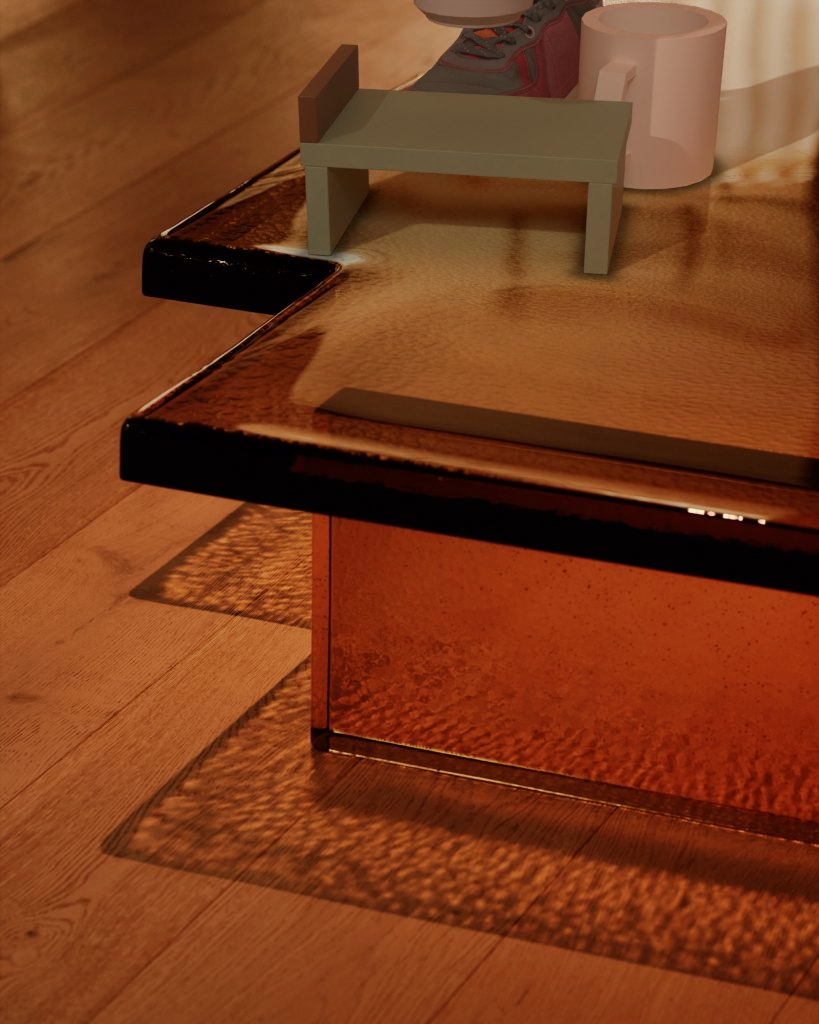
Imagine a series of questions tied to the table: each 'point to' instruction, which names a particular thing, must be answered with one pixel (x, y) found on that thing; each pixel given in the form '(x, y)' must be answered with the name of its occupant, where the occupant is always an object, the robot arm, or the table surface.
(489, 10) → the can
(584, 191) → the table surface
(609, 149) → the shelf
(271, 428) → the table surface
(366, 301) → the table surface
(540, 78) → the sneaker
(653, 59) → the mug
